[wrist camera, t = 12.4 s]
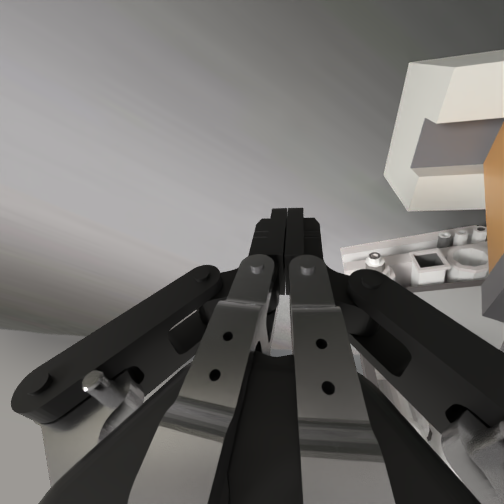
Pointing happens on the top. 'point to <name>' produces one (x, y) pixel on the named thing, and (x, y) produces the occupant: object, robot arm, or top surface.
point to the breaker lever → (494, 230)
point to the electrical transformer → (432, 293)
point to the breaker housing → (446, 131)
